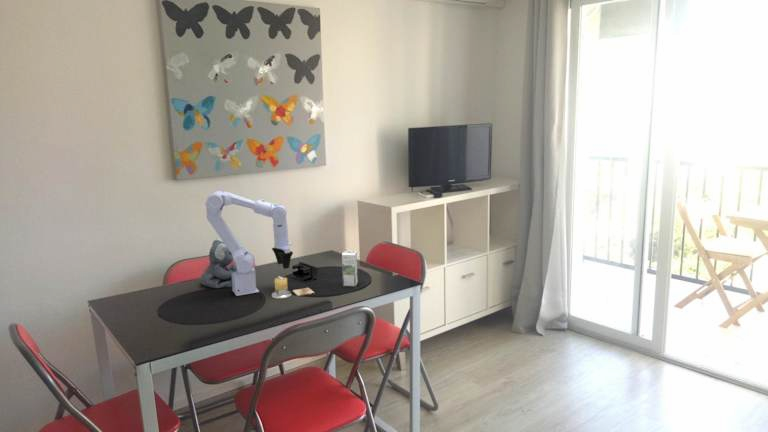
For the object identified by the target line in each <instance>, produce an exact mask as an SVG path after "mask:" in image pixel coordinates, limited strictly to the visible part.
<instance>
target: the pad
mask: <svg viewBox="0 0 768 432" xmlns="http://www.w3.org/2000/svg"><path fill="white" fill-rule="evenodd" d="M292 293H294V294H295V295H296V296H297V297H301V296H306V295H307V294H308V295H313V294H315V291H313V290H312V289H311V288H310V287H305V288H299V289H293V290H292ZM312 293H313V294H312ZM308 295H307V296H308Z"/></svg>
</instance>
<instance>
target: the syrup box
mask: <svg viewBox="0 0 768 432" xmlns="http://www.w3.org/2000/svg"><path fill="white" fill-rule="evenodd" d="M341 268H342V269H341V271H342V286H343V287H353V288H354V287H356V286H357V285H358V252H357V250H355V251H354V250H343V252H342V254H341Z"/></svg>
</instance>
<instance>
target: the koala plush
mask: <svg viewBox="0 0 768 432" xmlns="http://www.w3.org/2000/svg"><path fill="white" fill-rule="evenodd" d="M208 257H209V265H208V266H207V268H206V269H204V271H203V272H202V274H201V277H200V282H201V284H202V286H204V287H209V288H212V289H222V288H232V273H235V272H237V268H236V263H235V262H234V260H233V256H232V253H231V252H230V251H229V249H228V248H227V246H226V245H225V244H224V242H223V241H222V239H219V238H218V239H217V238H216V239H213V241H212V243H211V247H210V249H209V253H208ZM232 262H233V263H232Z"/></svg>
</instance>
